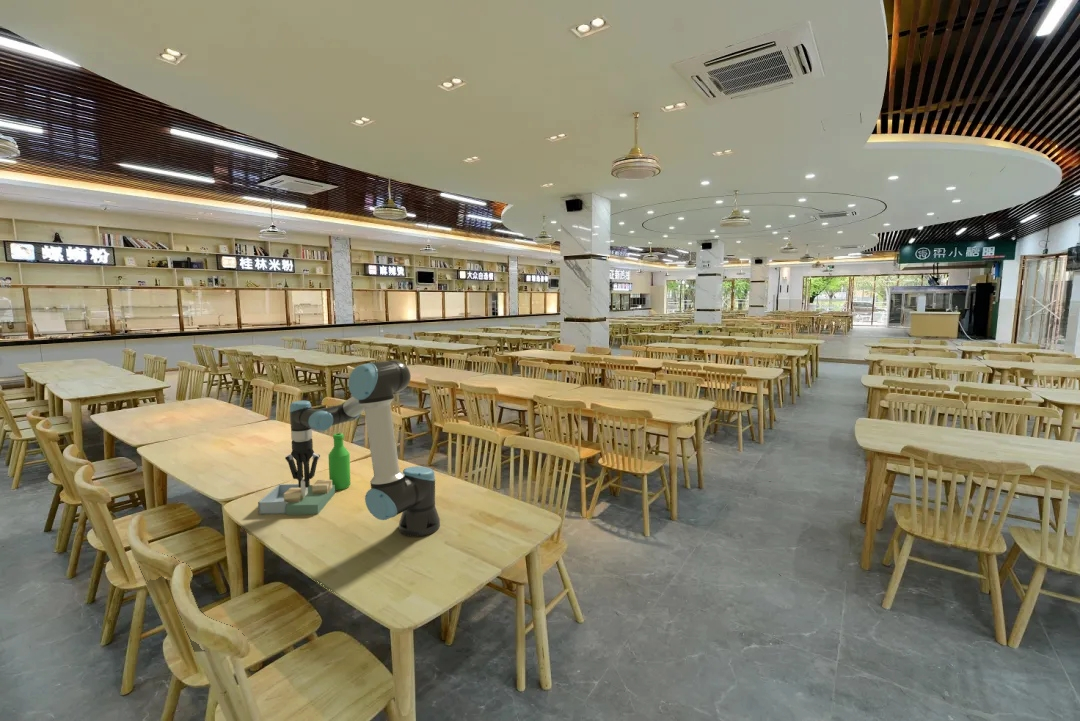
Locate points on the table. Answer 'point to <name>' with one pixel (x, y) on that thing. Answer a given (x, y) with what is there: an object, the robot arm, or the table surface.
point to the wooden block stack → (322, 486)
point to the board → (310, 503)
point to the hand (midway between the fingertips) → (304, 494)
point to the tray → (275, 500)
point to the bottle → (339, 464)
